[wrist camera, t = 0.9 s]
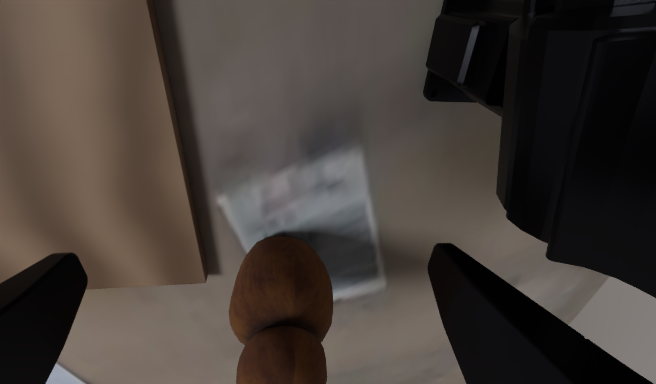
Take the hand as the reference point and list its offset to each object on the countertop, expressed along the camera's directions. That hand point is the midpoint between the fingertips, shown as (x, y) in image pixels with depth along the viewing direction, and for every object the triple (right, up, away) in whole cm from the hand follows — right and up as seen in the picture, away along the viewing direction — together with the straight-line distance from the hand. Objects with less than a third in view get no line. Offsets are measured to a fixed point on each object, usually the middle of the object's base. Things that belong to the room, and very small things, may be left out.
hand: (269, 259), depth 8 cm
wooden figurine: (-2, -3, +17) cm, 18 cm away
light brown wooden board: (-16, +4, +11) cm, 20 cm away
